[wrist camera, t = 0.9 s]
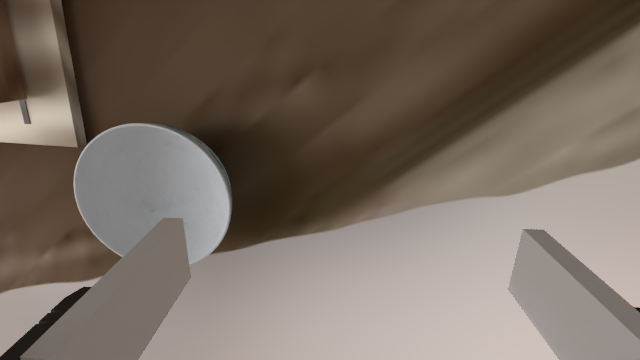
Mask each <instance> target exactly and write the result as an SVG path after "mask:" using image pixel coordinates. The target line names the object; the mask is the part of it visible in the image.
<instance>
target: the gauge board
mask: <svg viewBox="0 0 640 360" xmlns="http://www.w3.org/2000/svg"><path fill="white" fill-rule="evenodd" d="M5 4H6V9H7V13H8V17H9V22H10V26H11V30H12V35H13V39H14V43H15V48H16V52H17V56H18V61H19V65H20V69H21V74H22V78H23V82H24V87H25V91H26V95H27V99H24V100H18V101H11V102H4V103H0V142H7V143H22V144H37V145H52V146H67V147H80V146H82V145H85V144H87V142H86V136H85V130H84V125H83V119H82V114H81V108H80V103H79V97H78V92H77V86H76V80H75V75H74V69H73V64H72V58H71V53H70V47H69V42H68V36H67V30H66V25H65V19H64V14H63V8H62V3H61V0H5Z"/></svg>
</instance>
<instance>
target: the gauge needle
mask: <svg viewBox="0 0 640 360" xmlns="http://www.w3.org/2000/svg"><path fill="white" fill-rule="evenodd" d="M24 99H27V95H26V91H25V87H24V82H23V78H22V74H21V69H20V65H19V61H18V56H17V52H16V48H15V43H14V39H13V35H12V30H11V26H10V22H9V17H8V13H7V9H6V4H5V0H0V103H4V102H11V101H18V100H24Z"/></svg>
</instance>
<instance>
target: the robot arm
mask: <svg viewBox="0 0 640 360" xmlns="http://www.w3.org/2000/svg"><path fill="white" fill-rule="evenodd" d="M190 278H191V275H190V267H189V260H188V253H187V246H186V238H185V231H184V224H183V218H163V219H162V220H161V221H160V222H158V223H157V224H156V225H155V226H154V227H153V228H152V229H151V230H150V231H149V232H148V233H147V234H146V235H145V236H144V237H143V238H142V239H141V240H140V241H139V242H138V243H137V244H136V245H135V246H134V247H133V248H132V249H131V250H130V251H129V252H128V253H127V254H126V255H125V256H123V257H122V258H121V259H120V260H119V261H118V262H117V263H116V264H115V265H114V266H113V267H112V268H111V269H110V270H109V271H108V272H107V273H106V274H105V275H104V276H103V277H102V278H101V279H100V280H99V281H98V282H97V283H96V284H95V285H94V286H93V287H83V288H81V289H79V290H78V291H76V292H74V293H72V294H71V295H69V296H67V297H66V298H64V299H63V300H62V301H61V302H60V303H59V304H58V305H57V306H55V307H54V309H52V310H51V313H48V314H47V315H46V316H45V317H44V318H42V319H41V320H40V321H39V324H36V325H35V326H34V327H33V328H31V330H30V331H28V332H27V333H26V334H25V335H24V336H23V337H22V338H20V339H19V340H18V341H17V342H16V343H15V344H14V345H13V346H12V347H11V348H10V349H8V350H7V351H6V352H5V353H4V354H3V355H2V356H1V357H0V360H138V359H139V357H140V356H141V354H142V353H143V351H144V350H145V348H146V346H147V345H148V343H149V342H150V340H151V339H152V337H153V335H154V334H155V332H156V331H157V329H158V328H159V326H160V325H161V323H162V321H163V320H164V318H165V317H166V315H167V314H168V312H169V310H170V309H171V307H172V306H173V304H174V303H175V301H176V300H177V298H178V296H179V295H180V293H181V292H182V290H183V288H184V287H185V285H186V284H187V282H188V281H189V279H190ZM508 290H509V291H510V292H511V294H512V295H513V297H515V299H516V301H517V302H518V303H519V305H520V306H521V307H522V309H523V310H524V312H525V313H526V314H527V316H528V317H529V319H530V320H531V321H532V323H533V324H534V326H535V327H536V328H537V330H538V331H539V332H540V334H541V335H542V336H543V338H544V339H545V341H546V342H547V343H548V345H549V346H550V348H551V349H552V350H553V352H554V353H555V354H556V356H557V357H558V359H559V360H640V308H635V307H633V306H631V305H630V304H629V303H628V302H627V301H626V300H624V299H623V298H622V297H621V296H620V295H619V294H618V293H616V292H615V291H614V290H613V289H612V288H610V287H609V286H608V285H607V284H606V283H605V282H604V281H602V280H601V279H600V278H599V277H598V276H596V275H595V274H594V273H593V272H592V271H591V270H589V269H588V268H587V267H586V266H585V265H584V264H583V263H581V262H580V261H579V260H578V259H577V258H576V257H574V256H573V255H572V254H571V253H570V252H569V251H567V250H566V249H565V248H564V247H563V246H562V245H561V244H559V243H558V242H557V241H556V240H555V239H554V238H552V237H551V236H550V235H549V234H548V233H547V232H545V231H544V230H532V229H530V230H529V229H523V231H522V235H521V239H520V244H519V247H518V251H517V255H516V259H515V264H514V267H513V271H512V276H511V280H510V284H509V288H508Z"/></svg>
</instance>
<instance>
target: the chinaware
mask: <svg viewBox="0 0 640 360" xmlns="http://www.w3.org/2000/svg"><path fill="white" fill-rule="evenodd" d="M74 193H75V198H76V202H77V205H78V208H79V211H80V213H81V215H82V217H83V219H84V221H85V222H86V224H87V225H88V227H89V228H90V230H91V231H92V232H93V233H94V235H95V236H96V237H97V238H98V239H99V240H100V241H101V242H102V243H103V244H104V245H106V246H107V247H108V248H109V249H111V250H112V251H113V252H115V253H116V254H118V255H120V256H122V257H123V256H125V255H126V254H127V253H128V252H129V251H130V250H131V249H132V248H133V247H134V246H135V245H136V244H137V243H138V242H139V241H140V240H141V239H142V238H143V237H144V236H145V235H146V234H147V233H148V232H149V231H150V230H151V229H152V228H153V227H154V226H155V225H156V224H157V223H158V222H160V221H161V220H162V219H163V218H183V224H184V231H185V238H186V246H187V253H188V260H189V265H191V264H193V263H196V262H198V261H200V260H202V259H203V258H205V257H206V256H208V255H209V254H210V253H212V252H213V251H214V250H215V249H216V248H217V246H218V245H219V244H220V243H221V241H222V239H223V238H224V236H225V234H226V232H227V229H228V226H229V223H230V219H231V213H232V190H231V185H230V181H229V178H228V175H227V172H226V170H225V168H224V166H223V164H222V163H221V161H220V160H219V158H218V157H217V156H216V154H215V153H214V152H213V151H212V150H211V149H210V148H209V147H208V146H207V145H206V144H205V143H203V142H202V141H201V140H199V139H198V138H196V137H195V136H193V135H191V134H189V133H187V132H185V131H183V130H180V129H178V128H175V127H171V126H167V125H162V124H155V123H130V124H124V125H119V126H116V127H113V128H110V129H108V130H106V131H104V132H102V133H101V134H99V135H98V136H96V137H95V138H94V139H93V140H92V141H91V142H90V143H89V144H88V145H87V146H86V147H85V149H84V150H83V152H82V153H81V155H80V157H79V159H78V162H77V164H76V168H75V173H74Z"/></svg>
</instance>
